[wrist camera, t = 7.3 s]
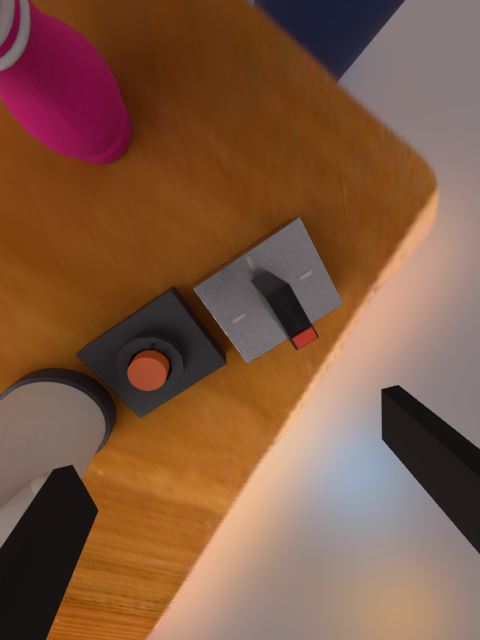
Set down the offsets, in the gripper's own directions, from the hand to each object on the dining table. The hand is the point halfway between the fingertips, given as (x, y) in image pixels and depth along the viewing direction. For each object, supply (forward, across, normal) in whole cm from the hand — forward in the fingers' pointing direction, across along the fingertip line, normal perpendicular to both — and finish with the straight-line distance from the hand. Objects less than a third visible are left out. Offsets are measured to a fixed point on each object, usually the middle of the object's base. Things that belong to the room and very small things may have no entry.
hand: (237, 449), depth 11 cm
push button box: (+19, -8, -2) cm, 21 cm away
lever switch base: (+19, +6, +2) cm, 20 cm away
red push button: (+15, -8, -2) cm, 17 cm away
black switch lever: (+16, +6, +2) cm, 17 cm away
